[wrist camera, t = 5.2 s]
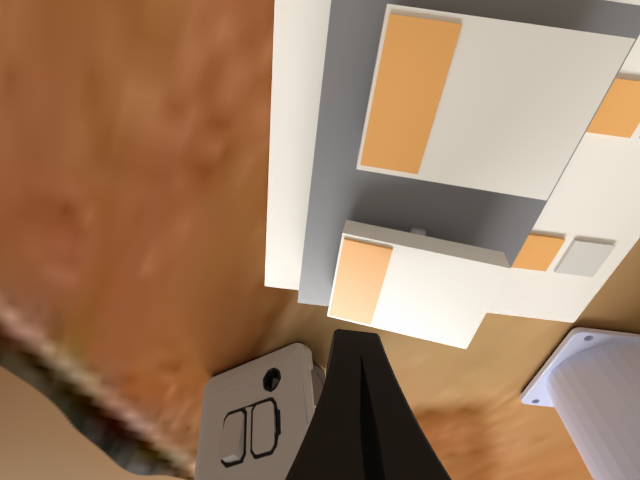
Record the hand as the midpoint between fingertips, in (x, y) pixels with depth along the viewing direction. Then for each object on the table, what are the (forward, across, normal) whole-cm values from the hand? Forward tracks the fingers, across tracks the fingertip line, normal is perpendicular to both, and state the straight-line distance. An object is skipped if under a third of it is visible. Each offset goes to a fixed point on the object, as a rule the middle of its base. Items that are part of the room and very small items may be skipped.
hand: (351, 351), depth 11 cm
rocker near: (+4, -2, -7) cm, 8 cm away
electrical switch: (+9, +3, +14) cm, 17 cm away
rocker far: (+4, -2, 0) cm, 5 cm away
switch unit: (+8, -5, -4) cm, 10 cm away
